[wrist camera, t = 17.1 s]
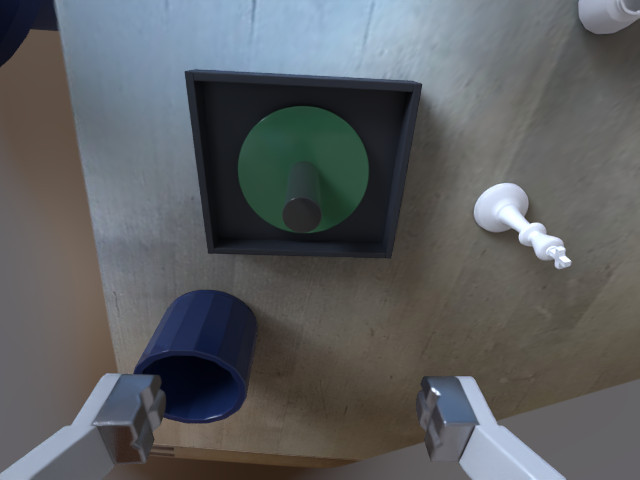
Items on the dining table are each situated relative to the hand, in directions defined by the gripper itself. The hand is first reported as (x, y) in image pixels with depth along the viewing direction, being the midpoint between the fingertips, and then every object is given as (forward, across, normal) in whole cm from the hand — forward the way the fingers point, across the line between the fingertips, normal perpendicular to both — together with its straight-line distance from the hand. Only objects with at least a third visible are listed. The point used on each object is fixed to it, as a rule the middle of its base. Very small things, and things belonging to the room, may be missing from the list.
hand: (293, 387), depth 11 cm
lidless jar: (+23, -22, -14) cm, 35 cm away
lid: (+22, 0, 0) cm, 22 cm away
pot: (+23, +10, +19) cm, 31 cm away
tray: (+23, 0, 0) cm, 23 cm away
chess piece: (+23, -19, +3) cm, 30 cm away
